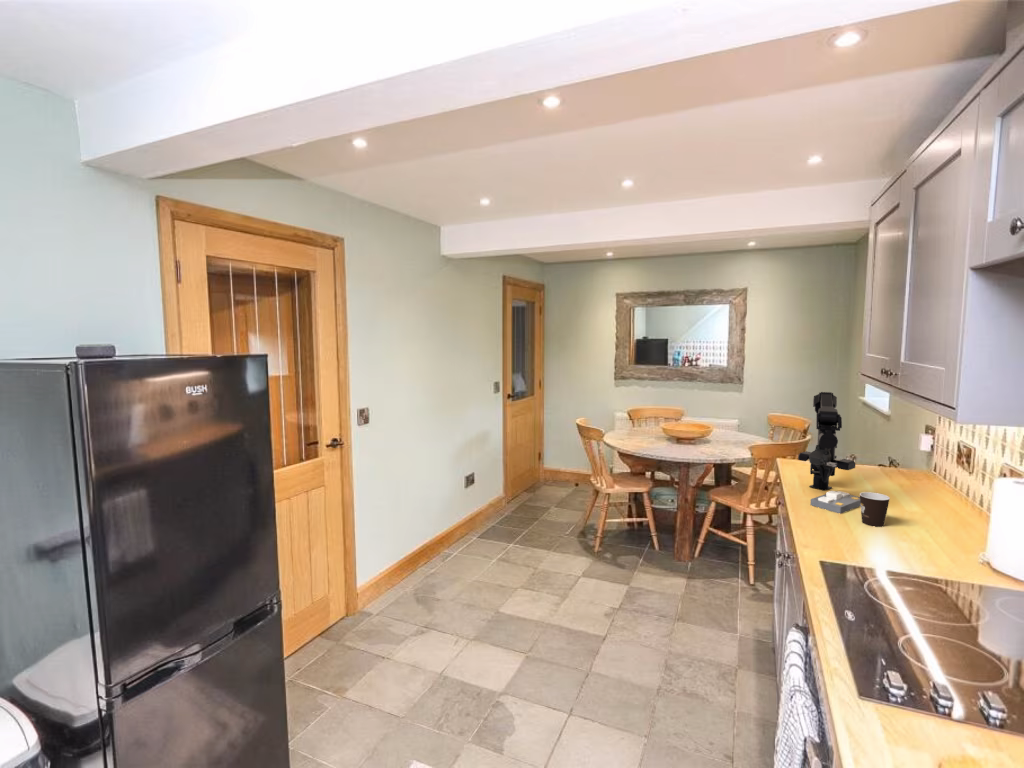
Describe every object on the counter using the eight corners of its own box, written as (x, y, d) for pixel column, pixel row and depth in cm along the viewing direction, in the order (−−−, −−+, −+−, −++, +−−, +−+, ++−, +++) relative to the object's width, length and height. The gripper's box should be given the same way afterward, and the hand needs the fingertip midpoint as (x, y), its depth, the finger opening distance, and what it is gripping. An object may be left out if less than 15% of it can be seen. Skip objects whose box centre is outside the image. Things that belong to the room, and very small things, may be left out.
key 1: (823, 503, 200) (823, 496, 199) (833, 506, 197) (833, 499, 196) (817, 505, 198) (818, 498, 198) (827, 508, 195) (828, 500, 194)
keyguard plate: (835, 496, 208) (835, 490, 208) (864, 504, 199) (865, 497, 198) (810, 505, 199) (810, 498, 199) (840, 513, 190) (840, 506, 189)
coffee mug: (887, 530, 174) (889, 501, 173) (857, 524, 179) (858, 497, 178) (888, 519, 183) (890, 492, 182) (859, 514, 188) (860, 488, 187)
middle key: (831, 497, 203) (831, 490, 202) (841, 500, 199) (841, 493, 199) (826, 499, 201) (826, 492, 200) (836, 502, 197) (836, 494, 197)
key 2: (838, 498, 206) (839, 491, 205) (849, 500, 202) (849, 493, 202) (833, 500, 204) (834, 492, 203) (844, 502, 200) (844, 495, 200)
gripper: (790, 441, 201) (789, 479, 202) (841, 450, 185) (839, 492, 186) (806, 437, 206) (805, 474, 208) (857, 446, 190) (854, 486, 192)
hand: (824, 481), depth 198 cm, fingers closed
